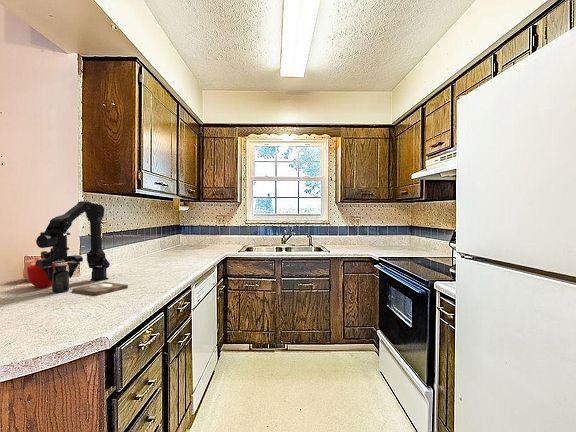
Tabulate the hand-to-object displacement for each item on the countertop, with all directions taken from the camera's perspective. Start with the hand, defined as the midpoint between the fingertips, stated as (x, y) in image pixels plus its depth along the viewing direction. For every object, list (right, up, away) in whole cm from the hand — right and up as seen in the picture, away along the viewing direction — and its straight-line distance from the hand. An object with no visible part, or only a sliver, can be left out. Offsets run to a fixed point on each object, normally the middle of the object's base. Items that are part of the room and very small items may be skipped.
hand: (60, 279), depth 173 cm
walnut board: (+17, -5, +3) cm, 18 cm away
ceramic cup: (-16, -5, +11) cm, 20 cm away
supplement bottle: (0, -6, 0) cm, 6 cm away
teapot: (-29, -5, +28) cm, 40 cm away
